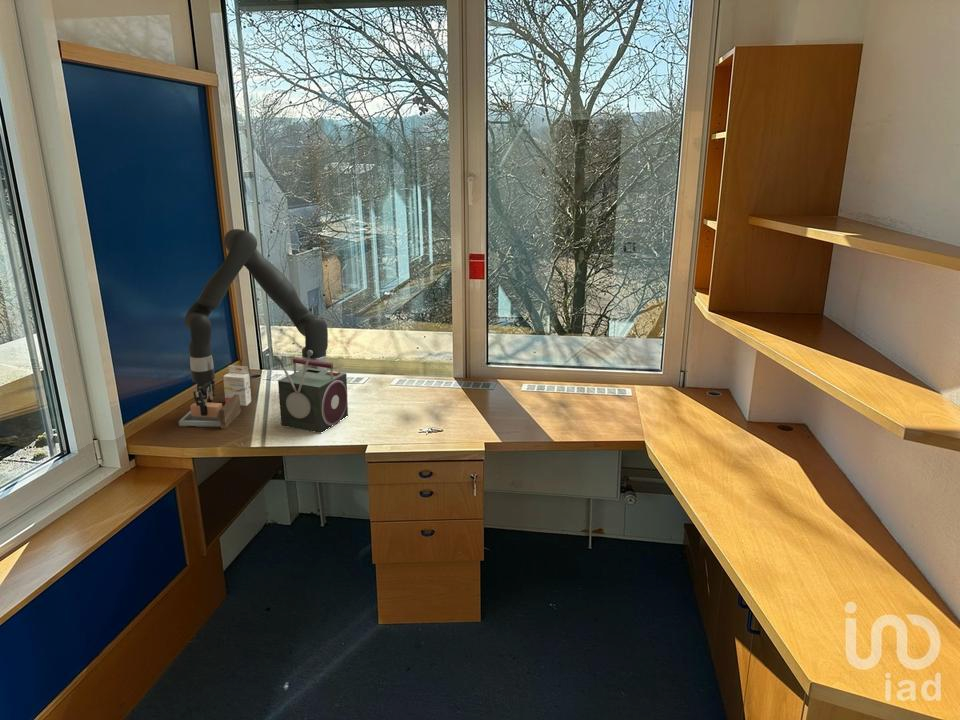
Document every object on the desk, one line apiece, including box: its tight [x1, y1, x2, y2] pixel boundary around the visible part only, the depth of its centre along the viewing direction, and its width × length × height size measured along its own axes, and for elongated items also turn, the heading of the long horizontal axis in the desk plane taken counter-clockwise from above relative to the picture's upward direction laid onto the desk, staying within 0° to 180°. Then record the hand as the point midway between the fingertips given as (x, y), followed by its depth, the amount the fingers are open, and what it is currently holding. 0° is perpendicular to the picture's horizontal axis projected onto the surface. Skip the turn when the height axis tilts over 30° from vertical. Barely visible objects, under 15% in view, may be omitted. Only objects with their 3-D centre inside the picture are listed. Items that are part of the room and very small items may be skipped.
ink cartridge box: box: [222, 364, 252, 407], centre depth 253 cm, size 9×5×15 cm, turn 84°
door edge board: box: [219, 394, 242, 430], centre depth 238 cm, size 2×16×7 cm, turn 1°
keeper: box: [178, 410, 221, 428], centre depth 239 cm, size 15×13×2 cm
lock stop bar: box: [189, 401, 223, 418], centre depth 238 cm, size 10×4×4 cm, turn 83°
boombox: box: [275, 350, 349, 433], centre depth 236 cm, size 18×21×30 cm
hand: (206, 412), depth 238 cm, fingers closed on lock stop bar, 4 cm apart
